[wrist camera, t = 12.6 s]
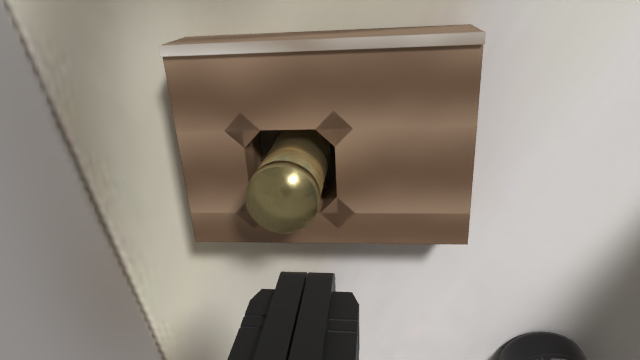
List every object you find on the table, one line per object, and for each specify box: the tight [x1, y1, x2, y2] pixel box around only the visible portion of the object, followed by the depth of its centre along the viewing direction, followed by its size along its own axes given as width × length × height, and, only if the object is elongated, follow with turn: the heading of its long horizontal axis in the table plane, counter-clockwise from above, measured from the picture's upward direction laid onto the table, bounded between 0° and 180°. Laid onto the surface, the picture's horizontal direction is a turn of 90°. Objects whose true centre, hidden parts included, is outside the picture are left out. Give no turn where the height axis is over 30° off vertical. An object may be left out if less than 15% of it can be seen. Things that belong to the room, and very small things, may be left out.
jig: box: [159, 25, 485, 244], centre depth 31 cm, size 13×18×4 cm
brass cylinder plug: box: [245, 129, 331, 233], centre depth 30 cm, size 4×4×8 cm
